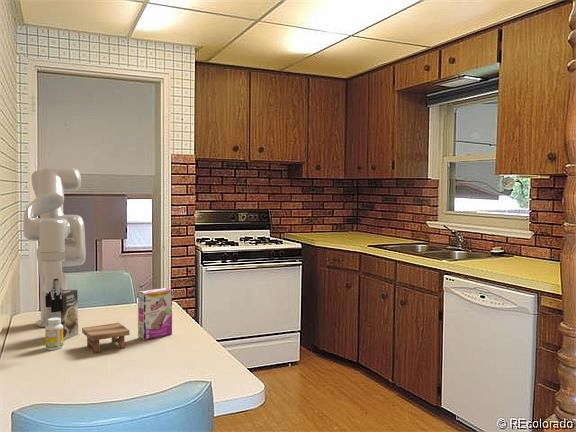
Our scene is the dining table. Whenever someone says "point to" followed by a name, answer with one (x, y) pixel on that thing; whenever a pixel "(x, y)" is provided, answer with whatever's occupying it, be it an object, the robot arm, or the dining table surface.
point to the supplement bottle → (54, 334)
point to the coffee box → (67, 313)
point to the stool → (105, 335)
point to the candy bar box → (154, 313)
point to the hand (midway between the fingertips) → (53, 309)
